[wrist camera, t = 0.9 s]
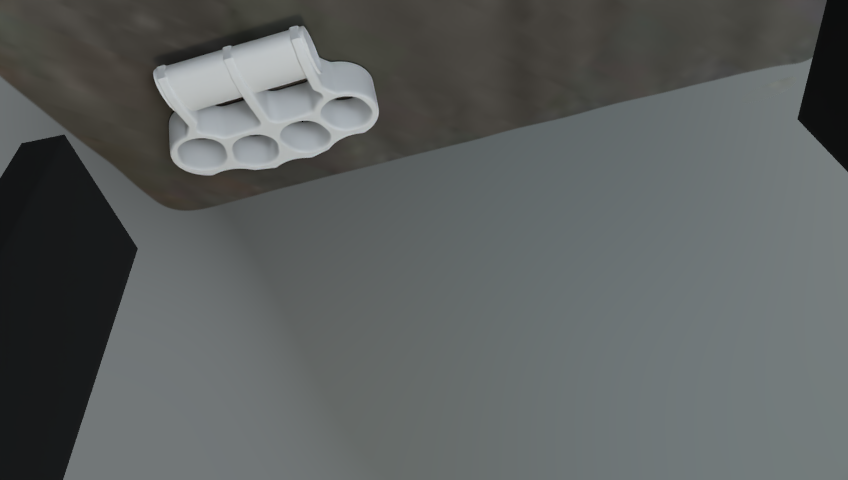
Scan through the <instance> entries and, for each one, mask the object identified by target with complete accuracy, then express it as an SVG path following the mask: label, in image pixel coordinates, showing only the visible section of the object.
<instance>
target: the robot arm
mask: <svg viewBox="0 0 848 480" xmlns="http://www.w3.org/2000/svg"><path fill="white" fill-rule="evenodd" d="M798 120H799V121H800V122H801V123H802V124H803V125H804V126H805V127H806V128H807V130H808V131H809V132H811V134H812V135H813V136H814V137H815V138H816V139H817V140H818V141H819V142H820V143H821V144H822V145H823V146H824V147H825V148H826V149H827V151H828V152H829V153H830V154H831V155H832V156H833V157H834V158H835V159H836V160H837V161H838V162H839V163H840V164H841V165H842V166H843V167H844V168H845V169H846V170H847V172H848V0H827V3H826V7H825V11H824V15H823V19H822V23H821V27H820V31H819V35H818V39H817V43H816V47H815V51H814V55H813V59H812V63H811V67H810V72H809V75H808V79H807V83H806V87H805V91H804V95H803V99H802V103H801V107H800V112H799V116H798ZM136 252H137V247H136V245H135V244H134V242H133V241H132V239H131V237H130V236H129V234H128V233H127V231H126V230H125V228H124V227H123V225H122V224H121V222H120V220H119V219H118V217H117V216H116V215H115V213H114V211H113V209H112V208H111V206H110V205H109V203H108V202H107V200H106V199H105V197H104V196H103V194H102V193H101V191H100V189H99V188H98V186H97V185H96V183H95V182H94V180H93V178H92V177H91V176H90V174H89V172H88V171H87V169H86V168H85V166H84V164H83V163H82V161H81V160H80V158H79V157H78V155H77V154H76V152H75V150H74V149H73V147H72V146H71V144H70V143H69V141H68V140H67V138H66V136H65V135H60V136H56V137H51V138H46V139H41V140H36V141H32V142H26V143H22V144H21V146H20V147H19V149H18V150H17V152H16V154H15V155H14V157H13V159H12V160H11V162H10V163H9V165H8V167H7V168H6V170H5V172H4V173H3V175H2V176H1V178H0V480H63V478H64V475H65V472H66V469H67V466H68V463H69V459H70V456H71V453H72V450H73V447H74V444H75V440H76V438H77V434H78V432H79V428H80V425H81V422H82V419H83V416H84V413H85V410H86V407H87V404H88V400H89V397H90V394H91V391H92V388H93V385H94V382H95V379H96V376H97V373H98V369H99V367H100V364H101V360H102V357H103V354H104V351H105V348H106V345H107V342H108V339H109V335H110V332H111V329H112V326H113V323H114V320H115V317H116V314H117V311H118V308H119V305H120V302H121V299H122V295H123V292H124V289H125V286H126V283H127V280H128V277H129V273H130V271H131V268H132V264H133V261H134V258H135V255H136Z"/></svg>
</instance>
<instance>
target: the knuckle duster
mask: <svg viewBox="0 0 848 480" xmlns="http://www.w3.org/2000/svg"><path fill="white" fill-rule="evenodd" d="M153 75H154V80H155V83H156V85H157V88H158V90H159V91H160V93H161V95H162V97H163V98H164V100H165V101H166V102H167V104H168V105H169V106H170V107H171V108H172V109H173V110H174V111H175V112H174V113H173V114H172V115H171V117H170V120H169V142H170V155H171V158H172V160H173V162H174V163H175V164H176V165H177V166H178V167H180V168H181V169H183V170H185V171H187V172H190V173H194V174H199V175H214V174H216V173H219V172H222V171H225V170H230V169H252V170H260V169H268V168H276V167H278V166H279V165H281V164H282V163H284V162H287V161H290V160H293V159H298V158H311V157H314V156H316V155H318V154H320V153H322V152H324V151H326V150H329V149H330V147H331V146H332V145H333V144H334V143H335V142H337V141H338V140H340V139H342V138H344V137H347V136H349V135H353V134H358V133H364V132H366V131H367V130H369V129H370V128H371V127H372V126H373V125H374V124H375V122H376V120H377V118H378V115H379V107H378V103H377V98H376V93H375V89H374V84H373V80H372V77H371V76H370V74H369V73H368V72H367V71H366V70H365V69H364V68H363V67H361V66H359V65H357V64H354V63H350V62H341V61H338V62H329V61H326V60H324V59H322V58H320V57H319V56H318V53H317V51H316V48H315V46H314V43H313V41H312V39H311V37H310V35H309V33H308V31H307V30H306V28H305V27H304V26H300V27H299V26H293V27H290V28H289V30H287V31H283V32H280V33H276V34H273V35H270V36H266V37H263V38H259V39H256V40H252V41H249V42H246V43H242V44H239V45H235V46H230V45H229V46H226V47H223V48H222V50H219V51H215V52H212V53H208V54H205V55H202V56H198V57H195V58H191V59H188V60H185V61H181V62H178V63H175V64H171V65H168V66H166V65H162V66H158V67H157V68H156V69H155V70H154V72H153ZM305 78H307V80H308V81H307V82H305V83H302V84H298V85H295V86H291V87H288V88H284V89H281V90H277V91H270V90H268V89H271V88H275V87H278V86H282V85H285V84H288V83H292V82H295V81H299V80H302V79H305ZM344 96H352V97H353V98H350V99H345V100H336V99H335V98H338V97H344ZM241 97H243V98H244V100H243V101H240V102H236V103H233V104H229V105H226V106H216V105H217V104H220V103H223V102H227V101H230V100H234V99H237V98H241ZM298 121H308V122H298ZM249 135H258V136H249ZM197 138H206V139H197Z"/></svg>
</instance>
